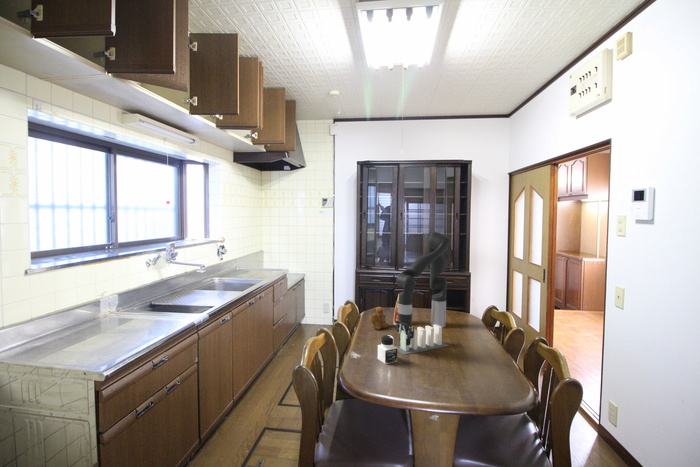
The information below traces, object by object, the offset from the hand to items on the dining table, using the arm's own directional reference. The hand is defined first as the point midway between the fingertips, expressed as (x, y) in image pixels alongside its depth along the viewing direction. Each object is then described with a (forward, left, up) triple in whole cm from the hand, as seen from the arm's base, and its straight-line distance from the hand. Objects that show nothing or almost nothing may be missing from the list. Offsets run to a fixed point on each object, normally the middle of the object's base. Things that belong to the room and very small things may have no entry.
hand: (404, 343), depth 167 cm
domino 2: (0, +5, -4) cm, 7 cm away
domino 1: (0, 0, -3) cm, 3 cm away
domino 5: (0, +22, -4) cm, 22 cm away
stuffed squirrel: (-37, +5, -4) cm, 38 cm away
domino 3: (0, +11, -4) cm, 12 cm away
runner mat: (0, +11, -4) cm, 12 cm away
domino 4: (0, +16, -4) cm, 17 cm away
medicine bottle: (+7, -15, -4) cm, 17 cm away
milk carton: (-39, +24, -4) cm, 46 cm away
